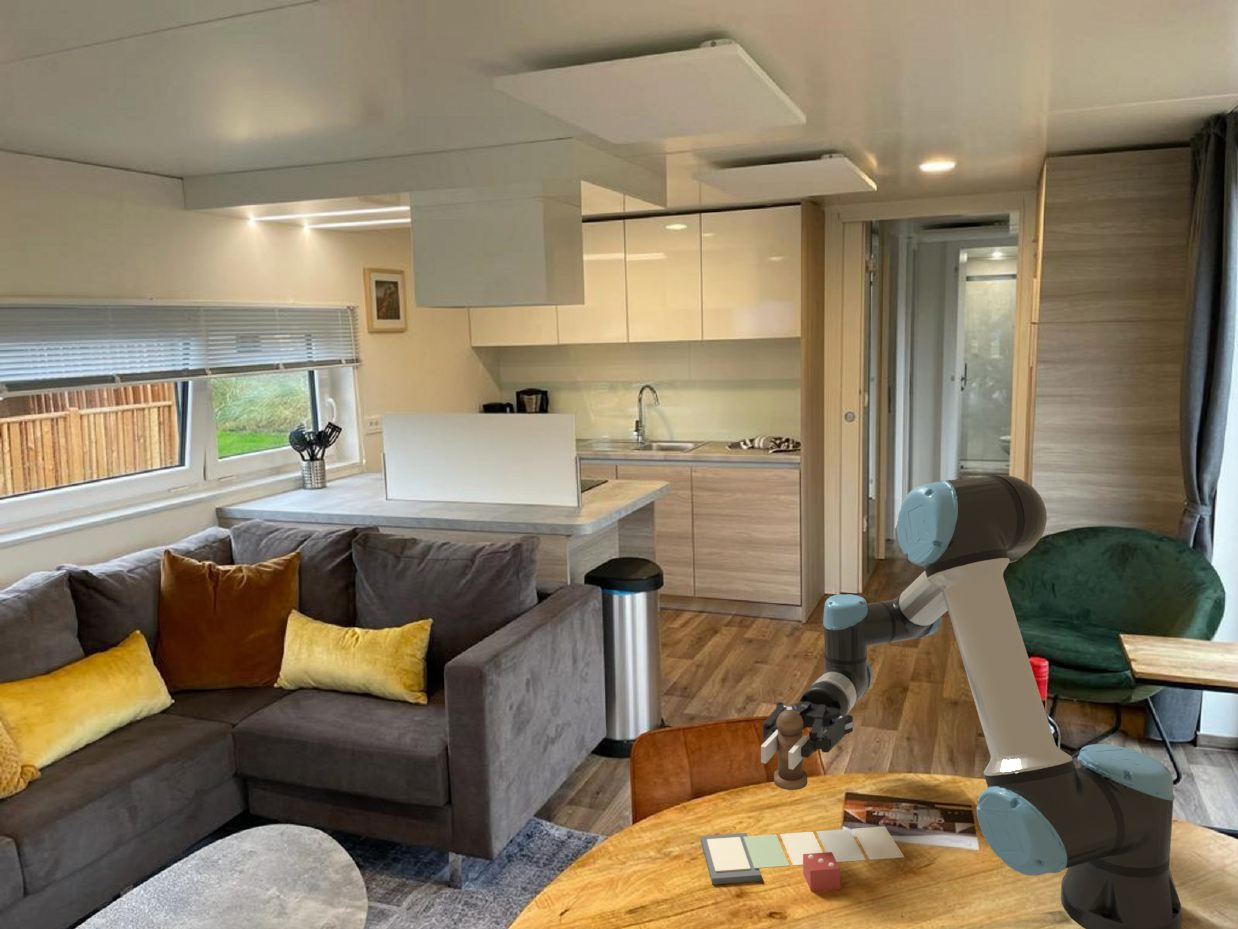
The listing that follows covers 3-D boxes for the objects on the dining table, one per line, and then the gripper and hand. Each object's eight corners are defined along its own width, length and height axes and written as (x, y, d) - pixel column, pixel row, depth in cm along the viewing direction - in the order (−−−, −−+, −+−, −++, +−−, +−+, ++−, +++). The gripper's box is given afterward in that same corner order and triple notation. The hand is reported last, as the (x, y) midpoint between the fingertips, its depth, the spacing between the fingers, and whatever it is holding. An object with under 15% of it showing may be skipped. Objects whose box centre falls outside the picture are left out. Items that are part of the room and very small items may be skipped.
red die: (840, 896, 142) (839, 866, 141) (810, 898, 141) (810, 868, 141) (831, 878, 146) (831, 850, 145) (803, 881, 146) (802, 852, 145)
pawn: (810, 789, 150) (810, 717, 148) (777, 791, 150) (776, 718, 148) (803, 773, 155) (802, 703, 153) (771, 775, 155) (770, 705, 153)
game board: (912, 869, 147) (912, 862, 147) (712, 884, 146) (711, 877, 146) (886, 828, 159) (886, 821, 159) (700, 841, 158) (700, 834, 158)
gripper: (876, 731, 163) (830, 793, 143) (782, 713, 171) (726, 769, 151) (876, 689, 161) (830, 745, 142) (781, 673, 170) (725, 724, 150)
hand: (777, 757), depth 147 cm, fingers closed on pawn, 4 cm apart
